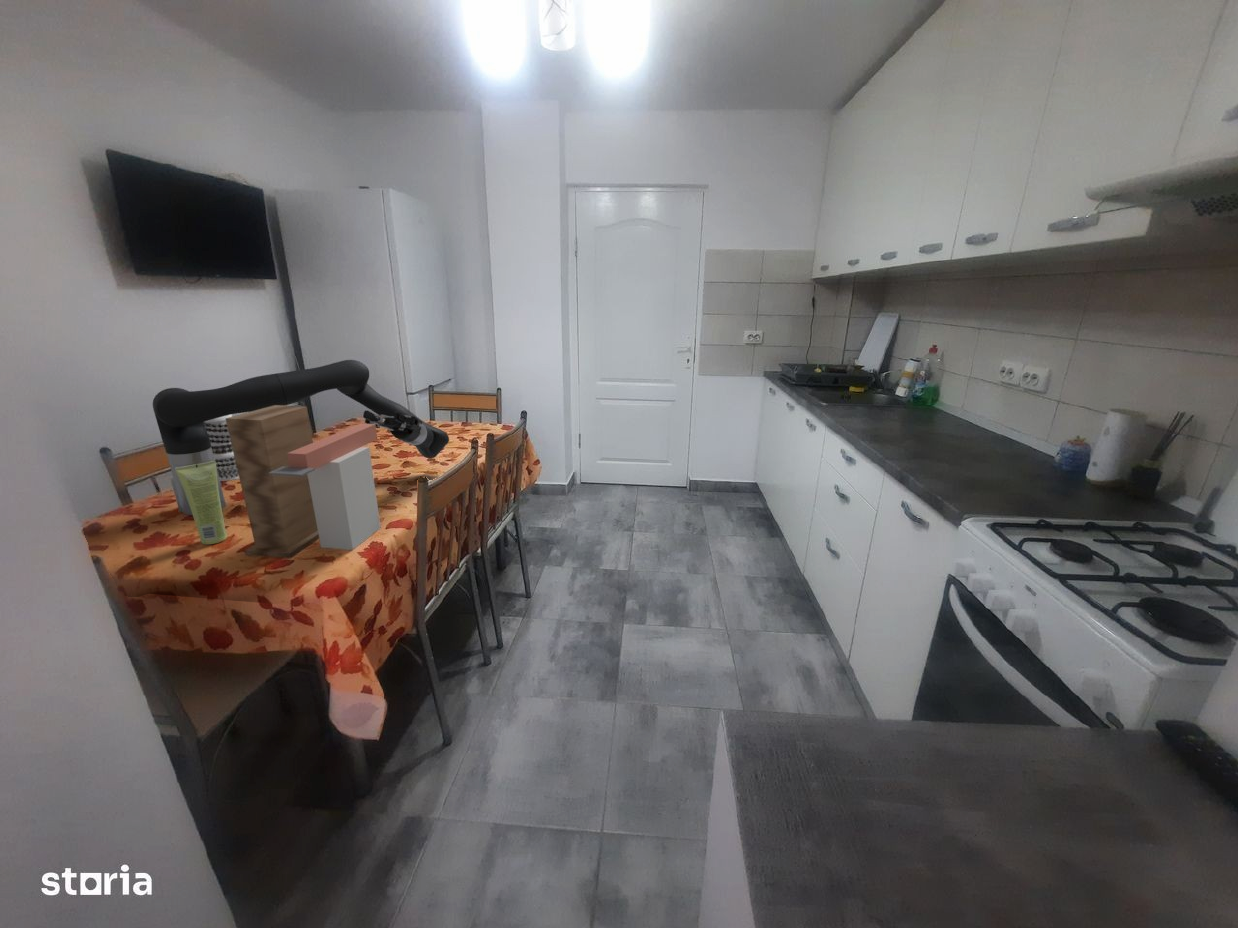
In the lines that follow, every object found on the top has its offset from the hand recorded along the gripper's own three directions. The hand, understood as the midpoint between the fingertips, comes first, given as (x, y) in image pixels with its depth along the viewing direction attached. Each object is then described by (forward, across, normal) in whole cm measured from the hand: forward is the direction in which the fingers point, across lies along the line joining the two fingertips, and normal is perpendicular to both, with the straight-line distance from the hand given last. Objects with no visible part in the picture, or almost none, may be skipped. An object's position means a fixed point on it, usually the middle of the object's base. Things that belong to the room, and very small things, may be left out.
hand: (380, 414), depth 131 cm
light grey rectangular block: (+3, 0, +33) cm, 33 cm away
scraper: (+16, 0, +15) cm, 22 cm away
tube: (+8, -31, +36) cm, 48 cm away
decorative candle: (-26, -63, +16) cm, 70 cm away
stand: (+6, -13, +34) cm, 37 cm away
